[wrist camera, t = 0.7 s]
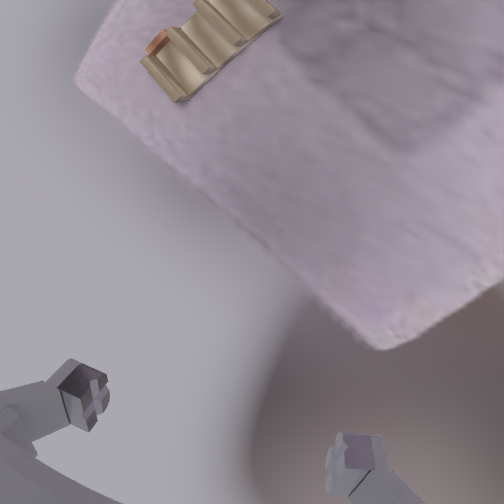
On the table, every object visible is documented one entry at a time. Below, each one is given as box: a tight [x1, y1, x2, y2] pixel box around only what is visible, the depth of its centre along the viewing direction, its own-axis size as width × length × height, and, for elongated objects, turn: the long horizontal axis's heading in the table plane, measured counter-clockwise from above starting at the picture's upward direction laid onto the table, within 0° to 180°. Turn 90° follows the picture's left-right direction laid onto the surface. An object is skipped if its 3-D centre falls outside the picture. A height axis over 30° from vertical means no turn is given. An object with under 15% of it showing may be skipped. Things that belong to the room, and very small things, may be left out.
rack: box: [140, 0, 283, 102], centre depth 40 cm, size 21×11×4 cm, turn 130°
